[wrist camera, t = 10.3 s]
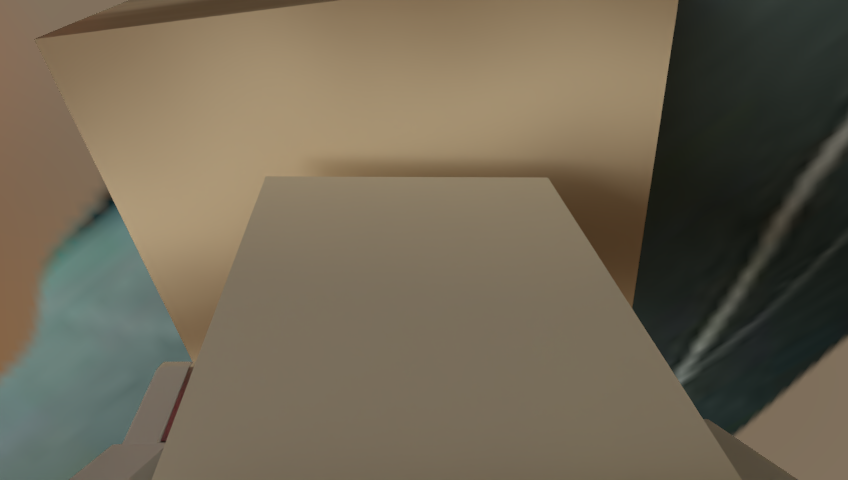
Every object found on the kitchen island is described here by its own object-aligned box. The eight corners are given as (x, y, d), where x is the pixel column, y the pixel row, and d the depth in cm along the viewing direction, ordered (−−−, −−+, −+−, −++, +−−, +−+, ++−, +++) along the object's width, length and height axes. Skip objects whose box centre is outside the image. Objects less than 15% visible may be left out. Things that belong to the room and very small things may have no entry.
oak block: (137, -4, 14) (34, 39, 10) (590, -61, 14) (685, -44, 10) (262, 333, 20) (234, 445, 16) (568, 291, 20) (619, 392, 16)
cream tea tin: (253, 166, 10) (18, 709, 3) (559, 168, 11) (886, 632, 4) (284, 384, 13) (197, 880, 7) (516, 376, 14) (654, 824, 7)
